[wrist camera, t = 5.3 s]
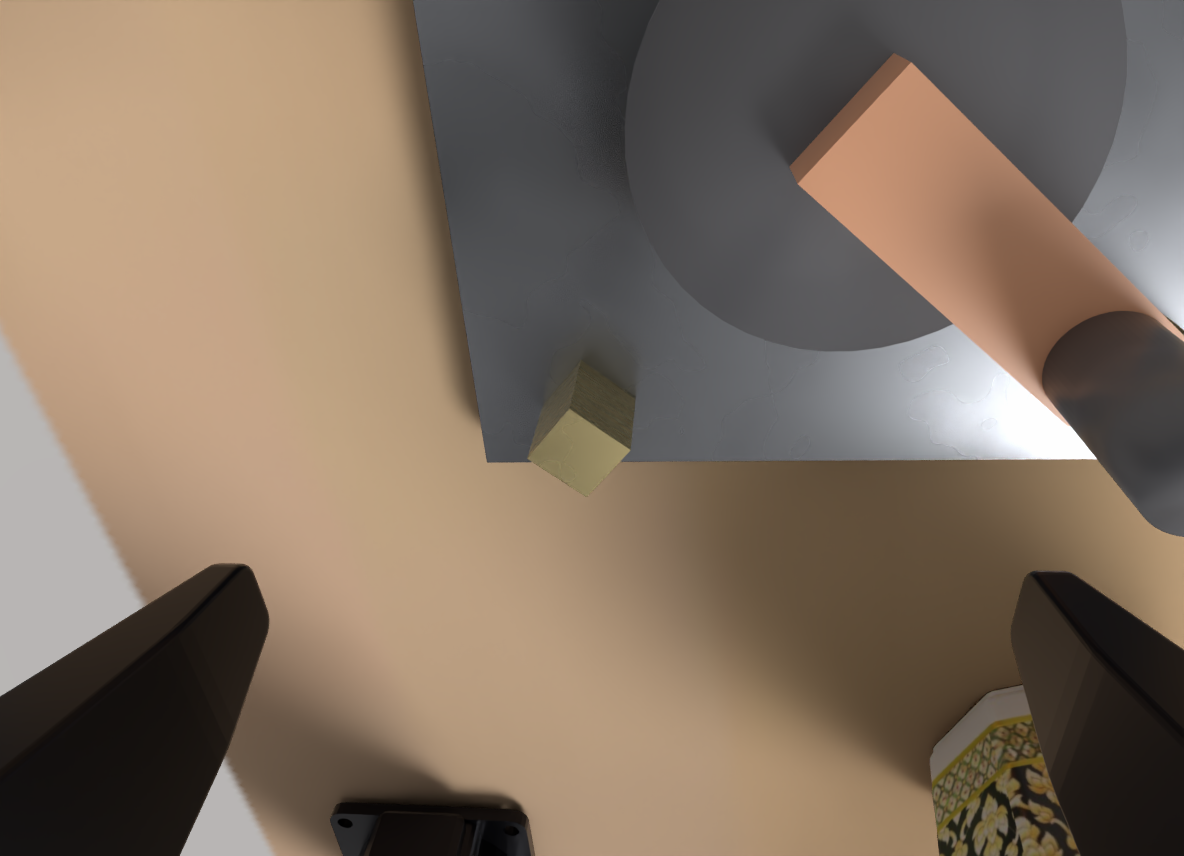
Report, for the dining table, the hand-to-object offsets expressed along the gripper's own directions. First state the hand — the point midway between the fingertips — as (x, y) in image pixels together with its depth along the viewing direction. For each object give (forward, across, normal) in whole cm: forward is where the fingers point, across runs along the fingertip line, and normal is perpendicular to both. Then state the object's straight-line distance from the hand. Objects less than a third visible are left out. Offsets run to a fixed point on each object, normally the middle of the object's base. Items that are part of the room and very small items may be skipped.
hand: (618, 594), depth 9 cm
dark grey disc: (+6, -4, -3) cm, 8 cm away
